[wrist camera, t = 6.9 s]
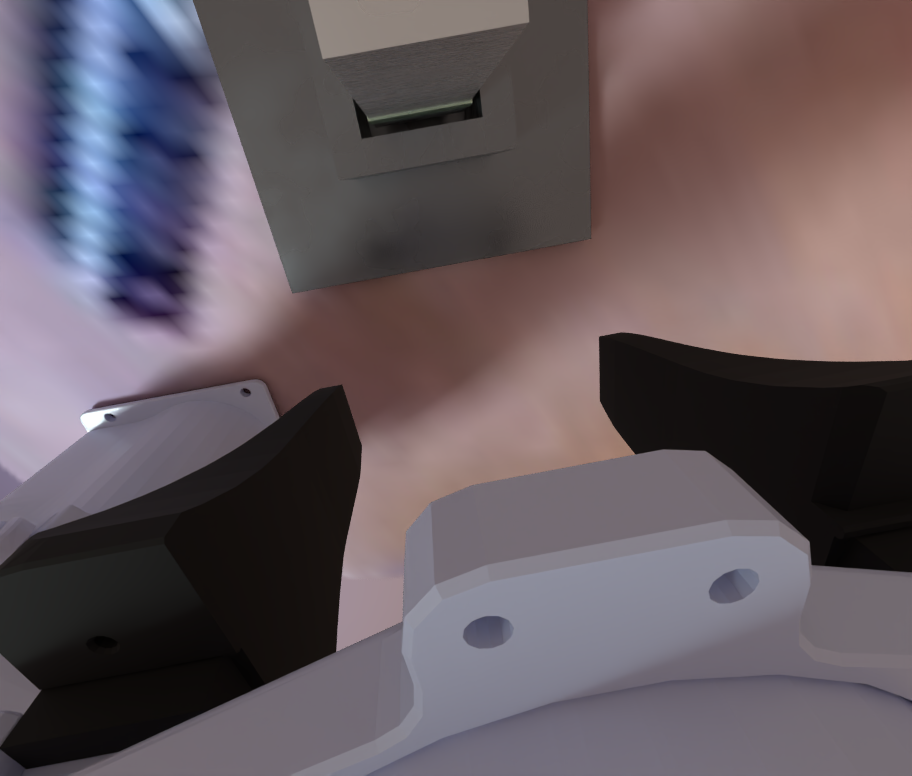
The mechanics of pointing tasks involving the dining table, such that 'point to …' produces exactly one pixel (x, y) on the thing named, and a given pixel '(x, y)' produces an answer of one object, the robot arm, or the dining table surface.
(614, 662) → the robot arm
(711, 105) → the dining table surface
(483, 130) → the stand base
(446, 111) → the column
